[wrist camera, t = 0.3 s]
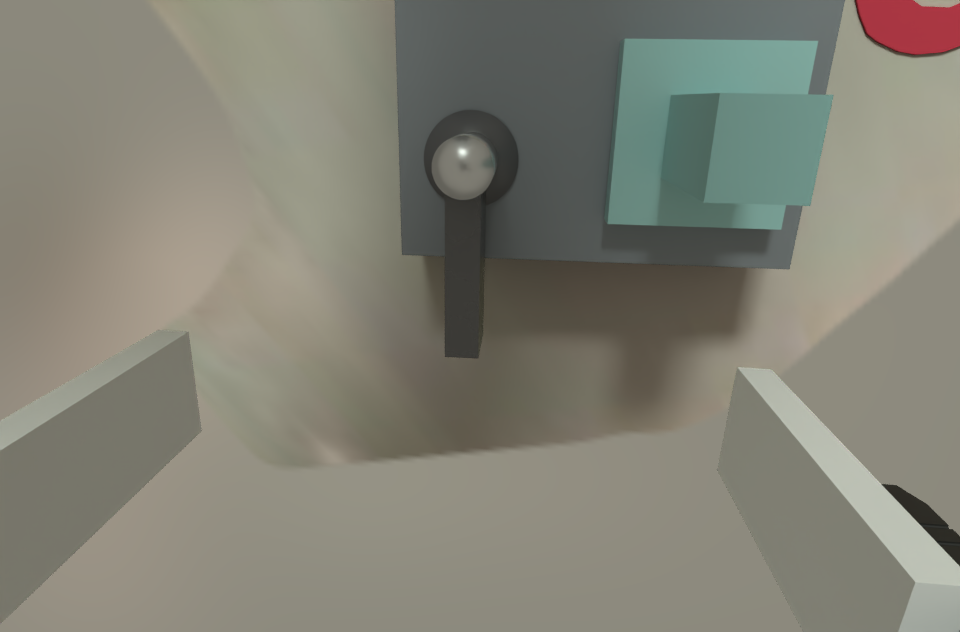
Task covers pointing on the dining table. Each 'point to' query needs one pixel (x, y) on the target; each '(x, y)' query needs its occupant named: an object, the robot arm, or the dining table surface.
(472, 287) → the grey lever handle
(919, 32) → the door hanger
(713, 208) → the cover
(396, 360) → the dining table surface
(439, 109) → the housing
